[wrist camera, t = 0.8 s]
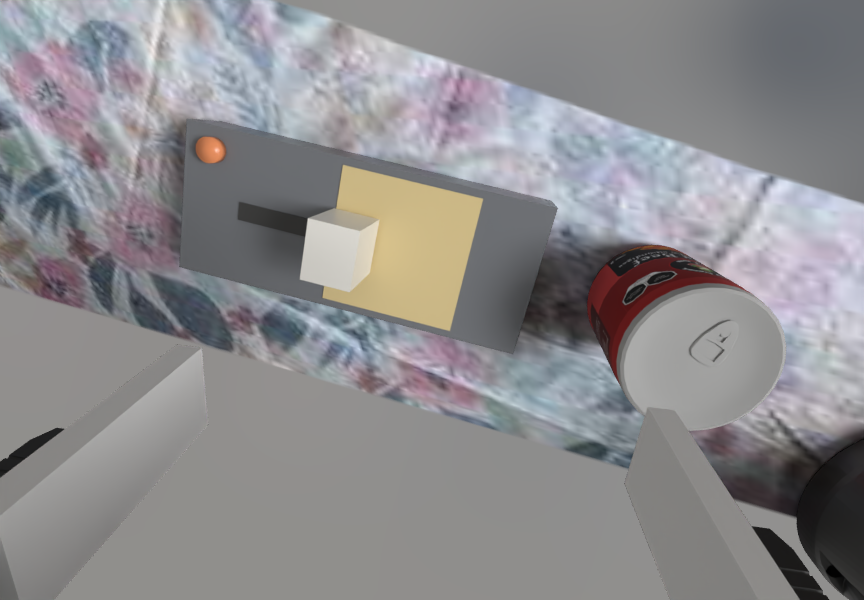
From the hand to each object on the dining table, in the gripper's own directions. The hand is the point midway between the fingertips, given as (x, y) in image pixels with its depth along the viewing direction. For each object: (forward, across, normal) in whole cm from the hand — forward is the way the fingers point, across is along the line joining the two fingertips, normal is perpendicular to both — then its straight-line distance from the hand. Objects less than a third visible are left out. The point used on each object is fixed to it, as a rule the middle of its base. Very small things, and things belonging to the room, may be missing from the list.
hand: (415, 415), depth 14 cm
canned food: (+22, -14, +2) cm, 26 cm away
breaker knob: (+18, +6, 0) cm, 19 cm away
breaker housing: (+22, +6, 0) cm, 23 cm away
